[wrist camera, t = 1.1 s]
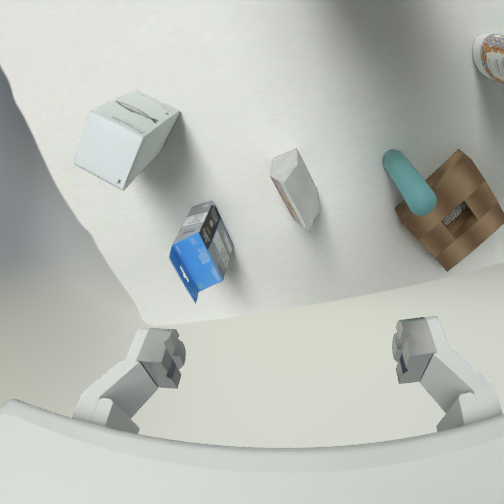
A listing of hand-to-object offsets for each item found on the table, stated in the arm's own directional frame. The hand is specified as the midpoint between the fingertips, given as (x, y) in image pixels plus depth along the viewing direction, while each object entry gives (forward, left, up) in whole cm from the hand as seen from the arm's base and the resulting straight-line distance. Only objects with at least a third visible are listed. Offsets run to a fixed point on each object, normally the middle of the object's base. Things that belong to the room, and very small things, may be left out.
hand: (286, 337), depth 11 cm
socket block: (-7, +28, -35) cm, 45 cm away
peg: (-5, +15, -35) cm, 38 cm away
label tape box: (+21, +2, -35) cm, 41 cm away
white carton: (+6, +6, -35) cm, 36 cm away
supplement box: (+12, -15, -35) cm, 40 cm away
